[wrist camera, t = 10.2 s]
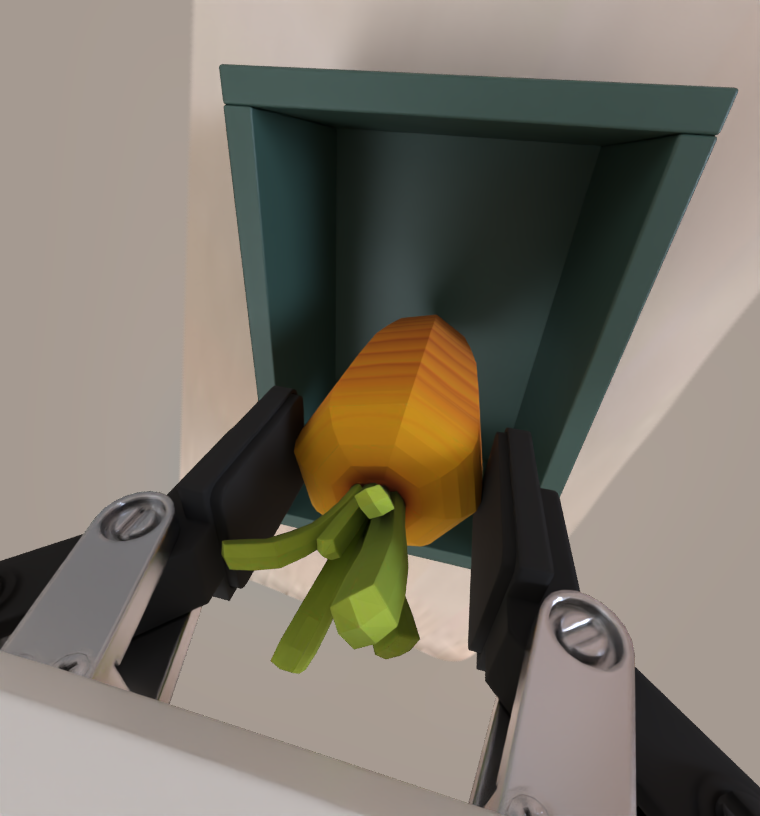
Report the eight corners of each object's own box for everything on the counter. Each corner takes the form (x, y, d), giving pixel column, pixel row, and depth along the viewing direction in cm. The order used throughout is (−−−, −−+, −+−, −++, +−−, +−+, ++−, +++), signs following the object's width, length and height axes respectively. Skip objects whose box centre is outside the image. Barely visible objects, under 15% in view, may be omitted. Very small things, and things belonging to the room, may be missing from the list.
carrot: (413, 390, 20) (299, 746, 8) (361, 307, 19) (112, 594, 6) (505, 350, 18) (549, 755, 6) (456, 251, 16) (366, 524, 4)
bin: (323, 103, 16) (217, 63, 10) (628, 121, 14) (741, 87, 8) (326, 432, 25) (272, 522, 19) (512, 468, 23) (523, 582, 17)
